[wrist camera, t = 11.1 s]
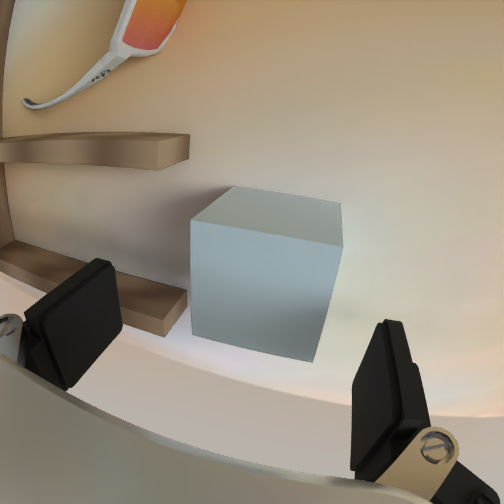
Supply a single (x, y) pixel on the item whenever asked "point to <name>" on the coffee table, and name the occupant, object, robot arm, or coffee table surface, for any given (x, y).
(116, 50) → the sunglasses
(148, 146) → the walnut holder
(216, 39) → the coffee table surface
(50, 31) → the coffee table surface
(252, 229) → the ceramic cube
